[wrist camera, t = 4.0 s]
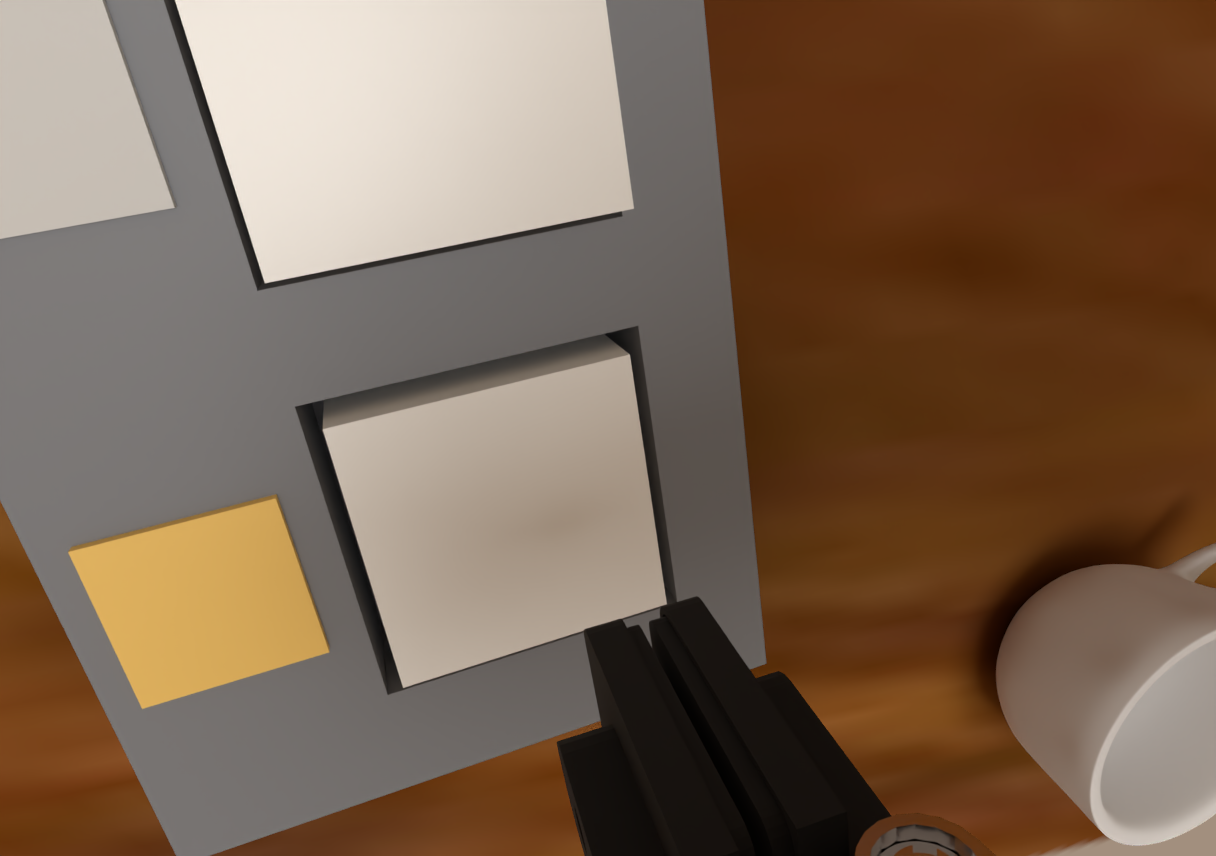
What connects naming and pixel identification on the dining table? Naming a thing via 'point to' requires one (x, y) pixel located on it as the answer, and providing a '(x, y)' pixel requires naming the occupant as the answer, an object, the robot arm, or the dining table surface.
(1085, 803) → the teacup
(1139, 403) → the dining table surface
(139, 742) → the button panel
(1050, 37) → the dining table surface
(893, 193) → the dining table surface
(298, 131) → the middle button
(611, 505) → the end button
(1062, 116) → the dining table surface
